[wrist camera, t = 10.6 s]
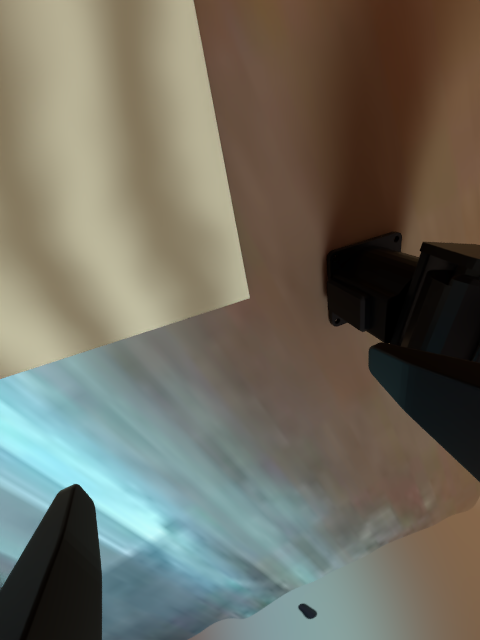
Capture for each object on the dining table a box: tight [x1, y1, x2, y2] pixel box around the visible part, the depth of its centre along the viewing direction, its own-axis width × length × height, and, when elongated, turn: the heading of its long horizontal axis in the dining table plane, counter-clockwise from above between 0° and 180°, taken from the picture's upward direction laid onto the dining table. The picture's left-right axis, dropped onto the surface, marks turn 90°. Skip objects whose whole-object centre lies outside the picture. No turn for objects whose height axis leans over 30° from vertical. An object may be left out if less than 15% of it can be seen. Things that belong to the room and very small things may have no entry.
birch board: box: [0, 0, 250, 379], centre depth 15 cm, size 20×18×1 cm
